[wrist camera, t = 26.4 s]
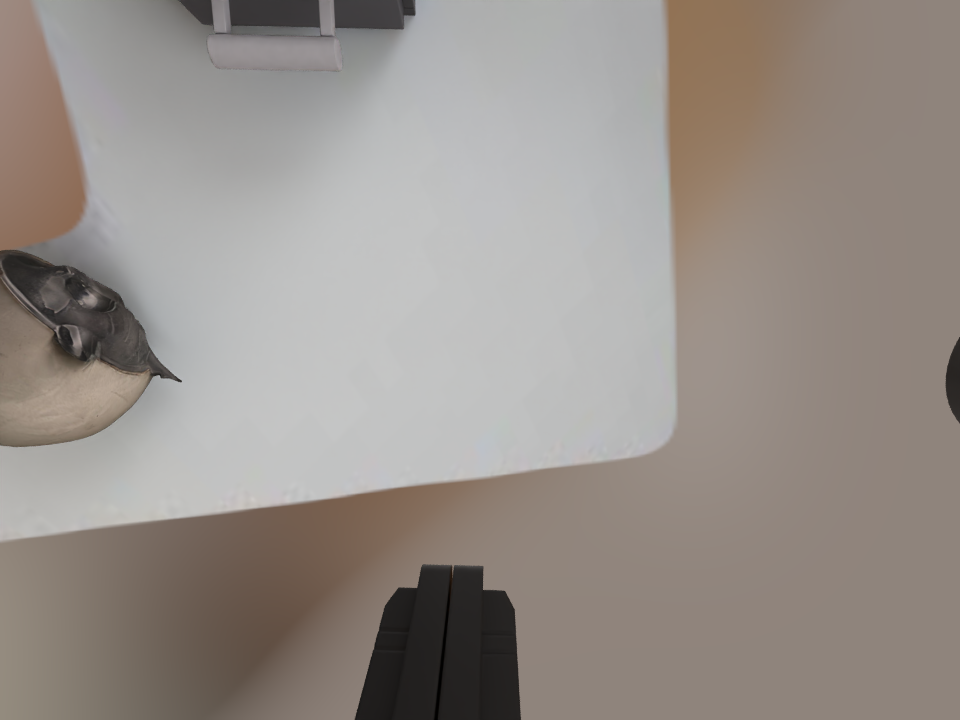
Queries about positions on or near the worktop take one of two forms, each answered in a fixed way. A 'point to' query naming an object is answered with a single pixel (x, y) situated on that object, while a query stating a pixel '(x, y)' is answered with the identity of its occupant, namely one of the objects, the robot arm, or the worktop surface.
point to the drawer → (290, 5)
